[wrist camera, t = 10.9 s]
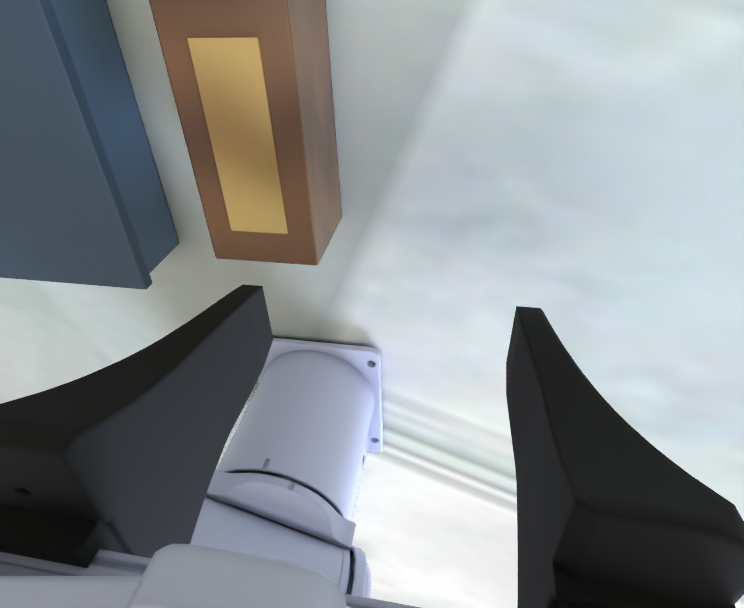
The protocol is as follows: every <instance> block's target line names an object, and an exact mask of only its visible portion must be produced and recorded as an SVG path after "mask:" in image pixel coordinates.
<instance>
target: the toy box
mask: <svg viewBox="0 0 744 608" xmlns="http://www.w3.org/2000/svg"><path fill="white" fill-rule="evenodd" d="M178 244H179V242H178V239H177V235H176V232H175V229H174V225H173V222H172V219H171V216H170V212H169V209H168V206H167V202H166V199H165V196H164V193H163V189H162V186H161V183H160V179H159V176H158V173H157V170H156V166H155V163H154V160H153V156H152V153H151V150H150V147H149V143H148V140H147V137H146V133H145V130H144V127H143V124H142V120H141V117H140V114H139V110H138V107H137V104H136V101H135V97H134V94H133V91H132V87H131V84H130V81H129V78H128V74H127V71H126V68H125V64H124V61H123V58H122V55H121V51H120V48H119V45H118V41H117V38H116V35H115V32H114V28H113V25H112V22H111V18H110V15H109V12H108V9H107V5H106V2H105V0H0V277H3V278H15V279H27V280H39V281H51V282H63V283H75V284H87V285H99V286H112V287H124V288H136V289H147V288H148V287H149V286H150V285H151V284H152V280H151V277H150V275H149V273H150V272H151V271H152V270H153V269H154V268H155V267H156V266H157V265H158V264H159V263H160V262H161V261H162V260H163V259H164V258H165V257H166V256H167V255H168V254H169V253H170V252H171V251H172V250H173V249H174V248H175V247H176V246H177V245H178Z"/></svg>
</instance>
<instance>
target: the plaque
mask: <svg viewBox="0 0 744 608" xmlns="http://www.w3.org/2000/svg"><path fill="white" fill-rule="evenodd" d="M149 2H150V6H151V10H152V13H153V17H154V21H155V25H156V29H157V33H158V37H159V40H160V44H161V48H162V52H163V56H164V60H165V64H166V67H167V71H168V75H169V79H170V83H171V87H172V90H173V94H174V98H175V102H176V106H177V110H178V114H179V117H180V121H181V125H182V129H183V133H184V137H185V140H186V144H187V148H188V152H189V156H190V160H191V164H192V167H193V171H194V175H195V179H196V183H197V187H198V191H199V194H200V198H201V202H202V206H203V210H204V214H205V217H206V221H207V225H208V229H209V233H210V237H211V241H212V244H213V248H214V252H215V256H216V258H218V259H233V260H247V261H261V262H276V263H290V264H305V265H318V264H319V262H320V260H321V258H322V256H323V254H324V252H325V250H326V248H327V246H328V244H329V242H330V240H331V238H332V236H333V234H334V232H335V230H336V228H337V226H338V224H339V222H340V220H341V218H342V211H341V198H340V185H339V172H338V159H337V146H336V133H335V120H334V107H333V94H332V81H331V68H330V55H329V42H328V29H327V16H326V3H325V0H149Z"/></svg>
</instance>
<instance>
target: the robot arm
mask: <svg viewBox="0 0 744 608" xmlns="http://www.w3.org/2000/svg"><path fill="white" fill-rule="evenodd" d="M370 361H374V363H372V362H370ZM257 380H258V383H259V385H258V387H257V389H256V391H255V393H254V395H253V397H252V399H251V401H250V403H249V405H248V407H247V410H246V412H245V414H244V416H243V418H242V420H241V422H240V424H239V426H238V428H237V430H236V432H235V434H234V436H233V438H232V440H231V442H230V444H229V446H228V448H227V450H226V452H225V454H224V456H223V458H222V460H221V462H220V464H219V466H218V468H217V470H216V466H217V463H218V461H219V458H220V456H221V453H222V451H223V448H224V445H225V443H226V441H227V439H228V436H229V434H230V432H231V430H232V428H233V426H234V424H235V422H236V420H237V418H238V416H239V415H240V413H241V411H242V409H243V407H244V405H245V403H246V401H247V399H248V397H249V395H250V393H251V392H252V390H253V388H254V386H255V384H256V382H257ZM506 395H507V404H508V412H509V420H510V428H511V436H512V444H513V451H514V459H515V468H516V480H517V523H518V608H735V605H734V604H735V603H736V602H737V601H738V600H739V599H740V598H741V597H742V596H743V595H744V521H743V519H742V518H741V516H740V514H739V513H738V511H737V509H736V507H735V505H734V504H732V503H731V502H729V501H728V500H726V499H725V498H723V497H722V496H720V495H719V494H717V493H716V492H715V491H713V490H712V489H710V488H709V487H707V486H706V485H704V484H703V483H701V482H700V481H698V480H697V479H695V478H694V477H692V476H691V475H690V474H688V473H687V472H686V471H684V470H683V469H682V468H680V467H679V466H678V465H676V464H675V463H674V462H673V461H671V460H670V459H669V458H667V457H666V456H665V455H664V454H662V453H661V452H660V451H659V450H657V449H656V448H655V447H654V446H653V445H651V444H650V443H649V442H648V441H647V440H646V439H645V438H644V437H642V436H641V435H640V434H639V433H638V432H637V431H636V430H635V429H633V428H632V427H631V426H630V425H629V424H628V423H627V422H626V421H625V420H624V419H623V418H622V417H621V416H620V415H619V414H618V413H617V412H616V411H615V410H614V409H613V408H612V407H611V406H610V405H609V404H608V403H607V402H606V400H605V399H604V398H603V397H602V396H601V395H600V394H599V392H598V391H597V390H596V389H595V388H594V386H593V385H592V384H591V383H590V381H589V380H588V379H587V378H586V376H585V375H584V374H583V373H582V371H581V370H580V369H579V367H578V366H577V364H576V363H575V362H574V360H573V359H572V357H571V356H570V354H569V353H568V352H567V350H566V349H565V347H564V346H563V344H562V343H561V341H560V339H559V338H558V336H557V335H556V333H555V331H554V330H553V328H552V326H551V325H550V323H549V321H548V319H547V318H546V316H545V314H544V312H543V311H542V310H541V309H540V308H531V307H518V306H516V312H515V317H514V323H513V329H512V334H511V340H510V345H509V351H508V356H507V362H506ZM382 450H383V422H382V389H381V355H380V352H379V350H378V349H376V348H373V347H364V346H354V345H343V344H333V343H322V342H312V341H301V340H291V339H281V338H273V336H272V331H271V326H270V321H269V316H268V311H267V306H266V302H265V297H264V292H263V287H262V286H254V285H241V286H240V287H238V288H237V289H235V290H234V291H232V292H231V293H229V294H228V295H226V296H225V297H223V298H222V299H220V300H219V301H218V302H216V303H215V304H213V305H212V306H211V307H209V308H208V309H206V310H205V311H203V312H202V313H200V314H199V315H197V316H196V317H195V318H193V319H192V320H190V321H189V322H187V323H186V324H184V325H182V326H181V327H179V328H178V329H176V330H175V331H173V332H171V333H170V334H168V335H167V336H165V337H163V338H162V339H160V340H159V341H157V342H155V343H153V344H152V345H150V346H148V347H146V348H144V349H143V350H141V351H139V352H137V353H135V354H133V355H131V356H129V357H127V358H125V359H123V360H121V361H119V362H116V363H114V364H112V365H110V366H107V367H105V368H103V369H101V370H98V371H96V372H94V373H92V374H89V375H87V376H84V377H82V378H79V379H77V380H74V381H71V382H69V383H66V384H63V385H60V386H57V387H55V388H52V389H49V390H46V391H43V392H40V393H37V394H33V395H30V396H26V397H23V398H19V399H16V400H13V401H9V402H6V403H2V404H0V608H420V607H414V606H409V605H403V604H398V603H392V602H387V601H381V600H376V599H370V593H371V574H370V569H369V567H368V564H367V562H366V557H365V554H364V552H363V551H362V549H360V548H357V547H354V546H351V545H352V541H353V536H354V531H355V527H356V524H355V523H354V522H352V519H353V514H354V510H355V506H356V501H357V497H358V492H359V488H360V483H361V479H362V474H363V470H364V465H365V461H366V456H367V453H375V454H378V453H381V452H382Z"/></svg>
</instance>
